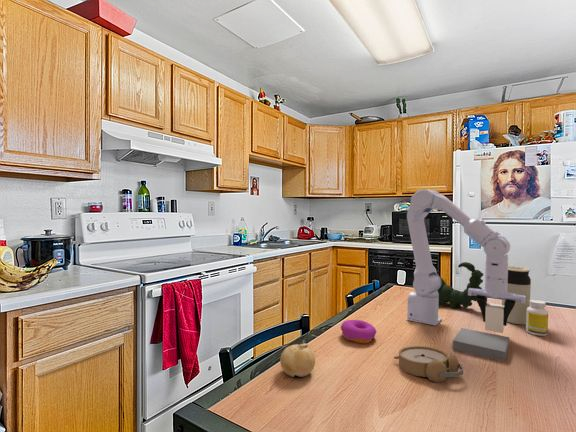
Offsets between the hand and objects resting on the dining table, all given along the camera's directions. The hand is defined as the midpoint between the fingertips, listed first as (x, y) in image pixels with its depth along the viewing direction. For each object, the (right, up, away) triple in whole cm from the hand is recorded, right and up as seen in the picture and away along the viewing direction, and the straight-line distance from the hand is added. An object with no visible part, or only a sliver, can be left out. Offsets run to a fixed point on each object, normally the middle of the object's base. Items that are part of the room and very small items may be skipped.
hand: (494, 322), depth 103 cm
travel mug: (+15, -4, +14) cm, 21 cm away
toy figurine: (0, -3, +32) cm, 32 cm away
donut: (-41, -4, -2) cm, 41 cm away
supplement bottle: (+15, -4, +3) cm, 16 cm away
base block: (-9, -4, -8) cm, 13 cm away
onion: (-59, -5, -23) cm, 64 cm away
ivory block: (0, -2, 0) cm, 2 cm away
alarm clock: (-28, -5, -21) cm, 36 cm away
